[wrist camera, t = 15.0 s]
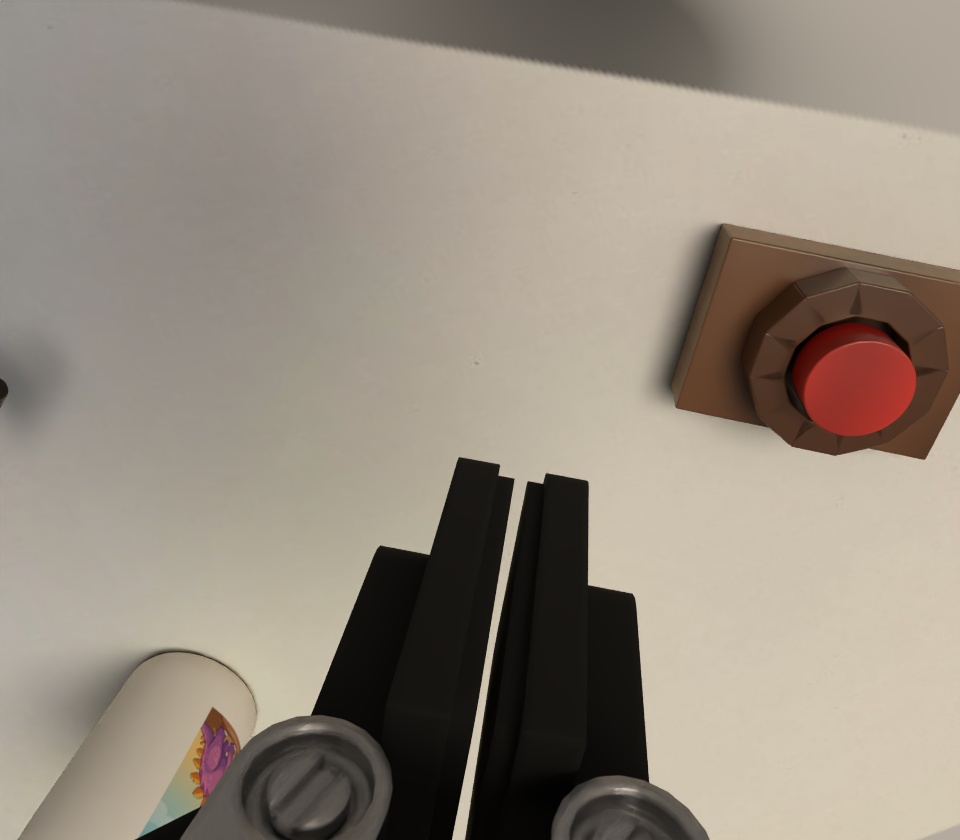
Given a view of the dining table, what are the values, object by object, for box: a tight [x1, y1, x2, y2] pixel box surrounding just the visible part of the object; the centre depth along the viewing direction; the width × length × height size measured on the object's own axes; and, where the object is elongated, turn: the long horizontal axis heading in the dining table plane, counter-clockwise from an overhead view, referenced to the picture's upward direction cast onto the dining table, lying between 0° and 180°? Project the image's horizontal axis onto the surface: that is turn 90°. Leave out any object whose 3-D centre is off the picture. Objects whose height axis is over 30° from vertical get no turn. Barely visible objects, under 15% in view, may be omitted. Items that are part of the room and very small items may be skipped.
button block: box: [671, 224, 960, 460], centre depth 29 cm, size 10×7×4 cm
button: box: [792, 323, 916, 436], centre depth 27 cm, size 4×4×2 cm
